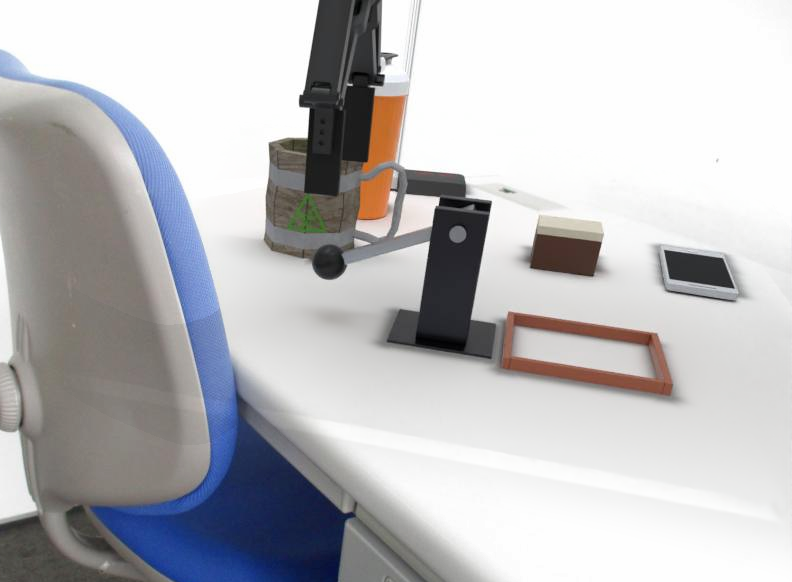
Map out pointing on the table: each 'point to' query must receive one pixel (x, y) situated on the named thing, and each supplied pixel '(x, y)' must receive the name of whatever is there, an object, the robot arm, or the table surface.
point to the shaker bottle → (383, 137)
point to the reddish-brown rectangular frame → (580, 373)
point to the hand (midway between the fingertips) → (338, 176)
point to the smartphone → (697, 273)
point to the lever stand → (450, 284)
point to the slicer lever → (364, 252)
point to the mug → (317, 203)
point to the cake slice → (566, 245)
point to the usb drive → (432, 183)
